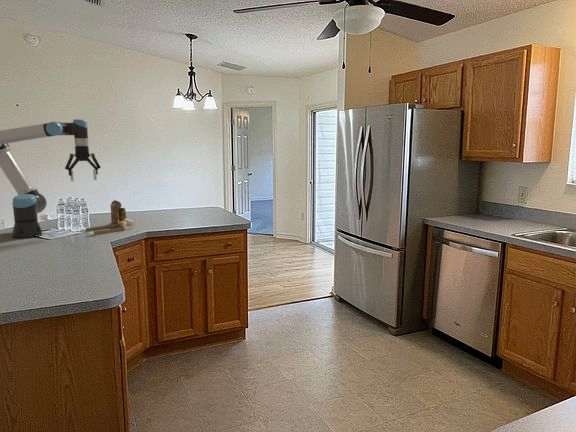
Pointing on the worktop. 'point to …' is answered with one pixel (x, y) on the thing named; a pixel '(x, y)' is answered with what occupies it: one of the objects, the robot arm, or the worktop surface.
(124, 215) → the brown animal figurine
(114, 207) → the brown tall block
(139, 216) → the worktop surface
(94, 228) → the brown wooden tray
